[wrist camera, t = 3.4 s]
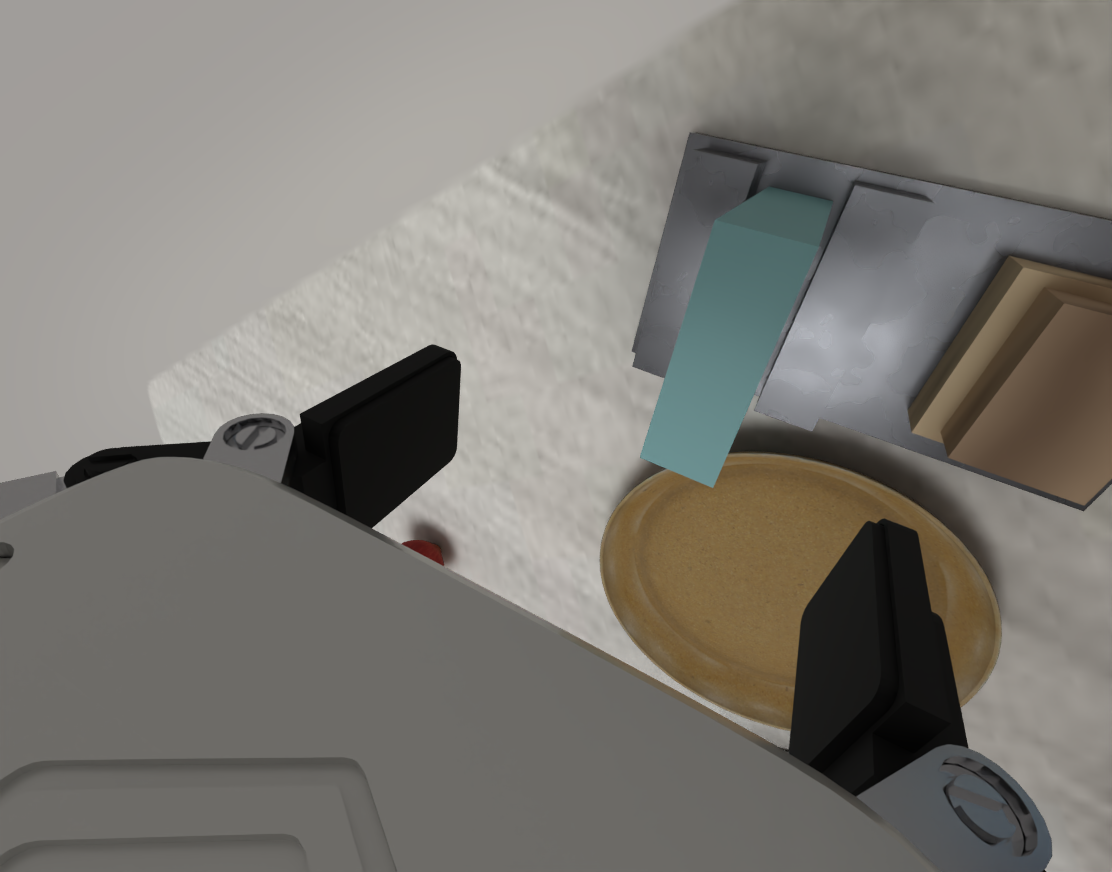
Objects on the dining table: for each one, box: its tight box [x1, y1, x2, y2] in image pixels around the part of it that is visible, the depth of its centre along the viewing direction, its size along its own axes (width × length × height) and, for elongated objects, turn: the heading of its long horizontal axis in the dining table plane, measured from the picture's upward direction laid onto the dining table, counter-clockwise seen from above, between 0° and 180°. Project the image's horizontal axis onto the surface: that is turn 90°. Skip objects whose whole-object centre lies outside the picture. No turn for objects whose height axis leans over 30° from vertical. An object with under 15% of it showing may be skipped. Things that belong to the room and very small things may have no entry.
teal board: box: [640, 187, 833, 488], centre depth 22 cm, size 3×9×12 cm, turn 170°
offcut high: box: [941, 287, 1112, 505], centre depth 20 cm, size 5×7×2 cm
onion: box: [402, 540, 444, 566], centre depth 50 cm, size 6×6×8 cm
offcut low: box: [908, 256, 1112, 444], centre depth 22 cm, size 6×8×2 cm
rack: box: [632, 132, 1112, 511], centre depth 24 cm, size 24×12×4 cm, turn 80°
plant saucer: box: [600, 452, 1002, 731], centre depth 35 cm, size 24×24×3 cm
